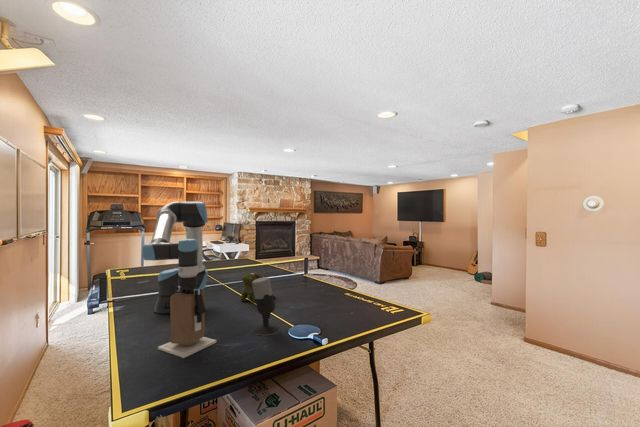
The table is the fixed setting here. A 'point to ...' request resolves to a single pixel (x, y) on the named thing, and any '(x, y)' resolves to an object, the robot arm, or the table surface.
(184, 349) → the tile
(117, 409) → the table surface
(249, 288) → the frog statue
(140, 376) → the table surface
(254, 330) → the microphone
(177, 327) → the wooden block
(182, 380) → the table surface
